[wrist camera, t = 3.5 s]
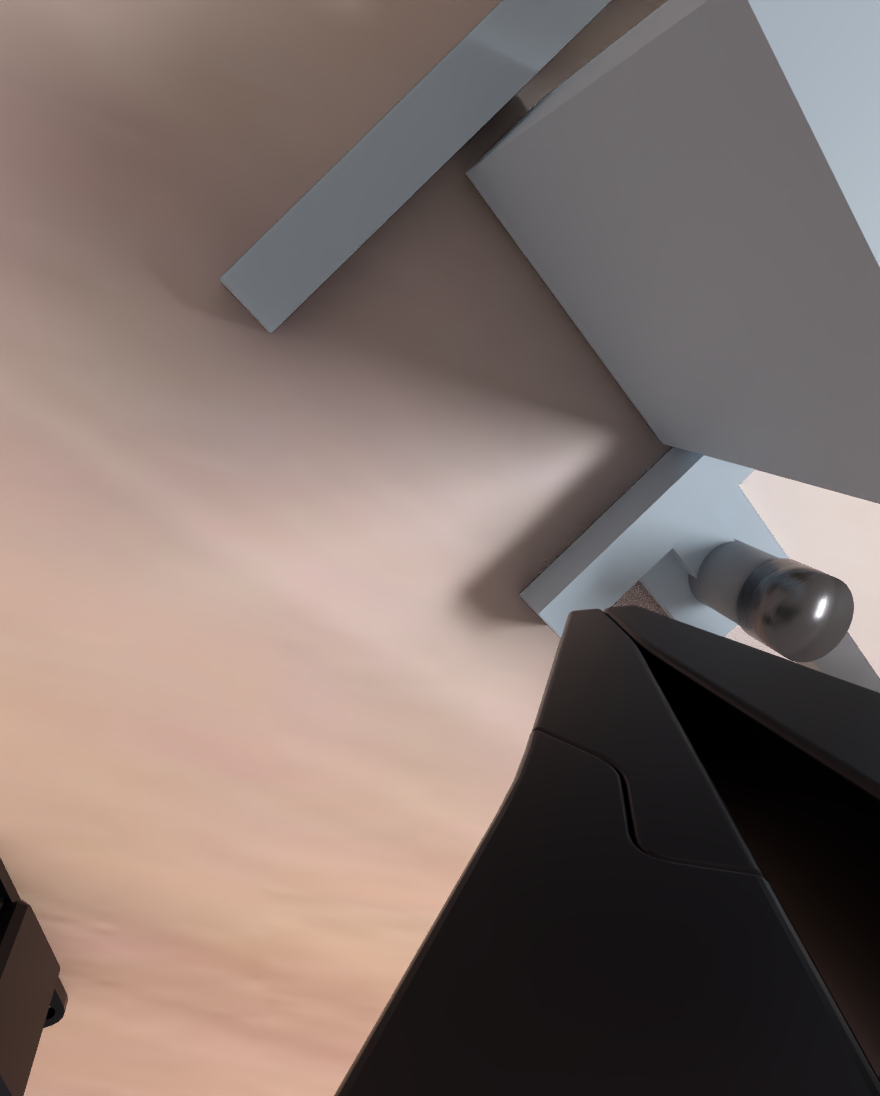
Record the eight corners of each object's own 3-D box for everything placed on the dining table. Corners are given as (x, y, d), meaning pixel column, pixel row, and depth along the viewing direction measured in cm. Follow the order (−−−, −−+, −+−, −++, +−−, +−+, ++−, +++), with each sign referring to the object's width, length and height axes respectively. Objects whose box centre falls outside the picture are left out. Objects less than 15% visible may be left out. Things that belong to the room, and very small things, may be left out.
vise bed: (628, 709, 23) (883, 965, 14) (222, 282, 16) (188, 222, 7) (1074, 285, 23) (1644, 254, 13) (848, -334, 16) (1685, -1255, 7)
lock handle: (713, 597, 19) (768, 628, 17) (776, 537, 19) (839, 561, 17) (895, 830, 24) (955, 876, 22) (946, 782, 24) (1010, 824, 22)
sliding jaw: (662, 443, 20) (1015, 540, 11) (465, 173, 17) (736, -20, 7) (730, 378, 20) (1142, 420, 11) (546, 93, 17) (923, -203, 7)
